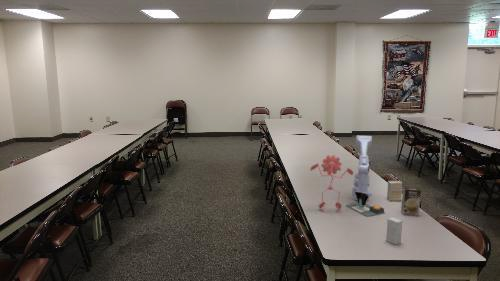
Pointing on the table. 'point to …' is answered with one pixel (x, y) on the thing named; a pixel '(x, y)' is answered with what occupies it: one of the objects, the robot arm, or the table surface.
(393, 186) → the supplement box
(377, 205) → the button
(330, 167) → the figurine
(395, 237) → the skincare box
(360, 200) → the teal bottle
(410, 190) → the coffee box
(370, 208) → the slate board
